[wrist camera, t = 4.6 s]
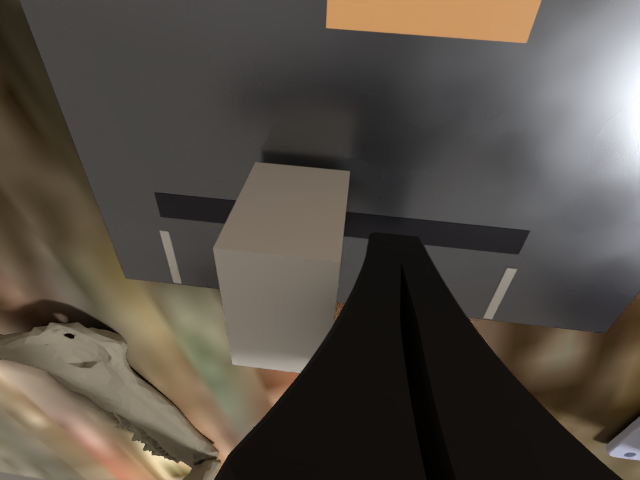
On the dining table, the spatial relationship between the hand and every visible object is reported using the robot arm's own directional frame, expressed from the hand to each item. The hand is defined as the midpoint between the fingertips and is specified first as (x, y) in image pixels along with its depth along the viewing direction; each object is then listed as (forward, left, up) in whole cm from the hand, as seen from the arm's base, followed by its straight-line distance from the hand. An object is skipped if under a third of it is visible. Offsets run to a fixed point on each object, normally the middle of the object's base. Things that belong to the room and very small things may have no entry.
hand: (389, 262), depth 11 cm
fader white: (+3, 0, -1) cm, 3 cm away
